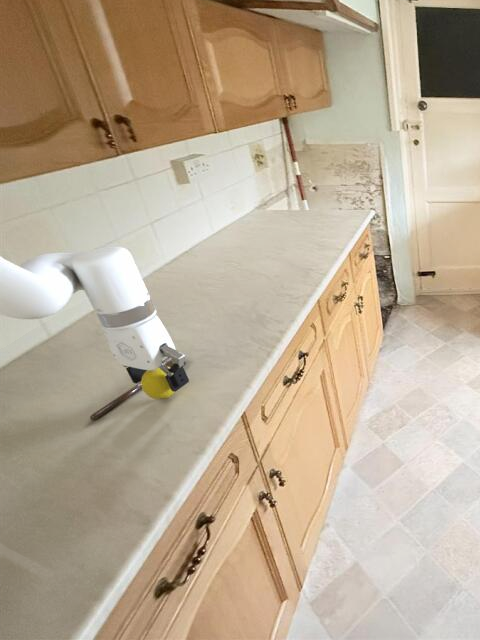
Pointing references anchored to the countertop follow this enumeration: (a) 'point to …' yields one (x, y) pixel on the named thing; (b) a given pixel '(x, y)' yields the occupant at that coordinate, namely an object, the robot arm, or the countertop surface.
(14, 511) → the countertop surface
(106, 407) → the spoon
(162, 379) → the lemon
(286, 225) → the countertop surface
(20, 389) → the countertop surface
